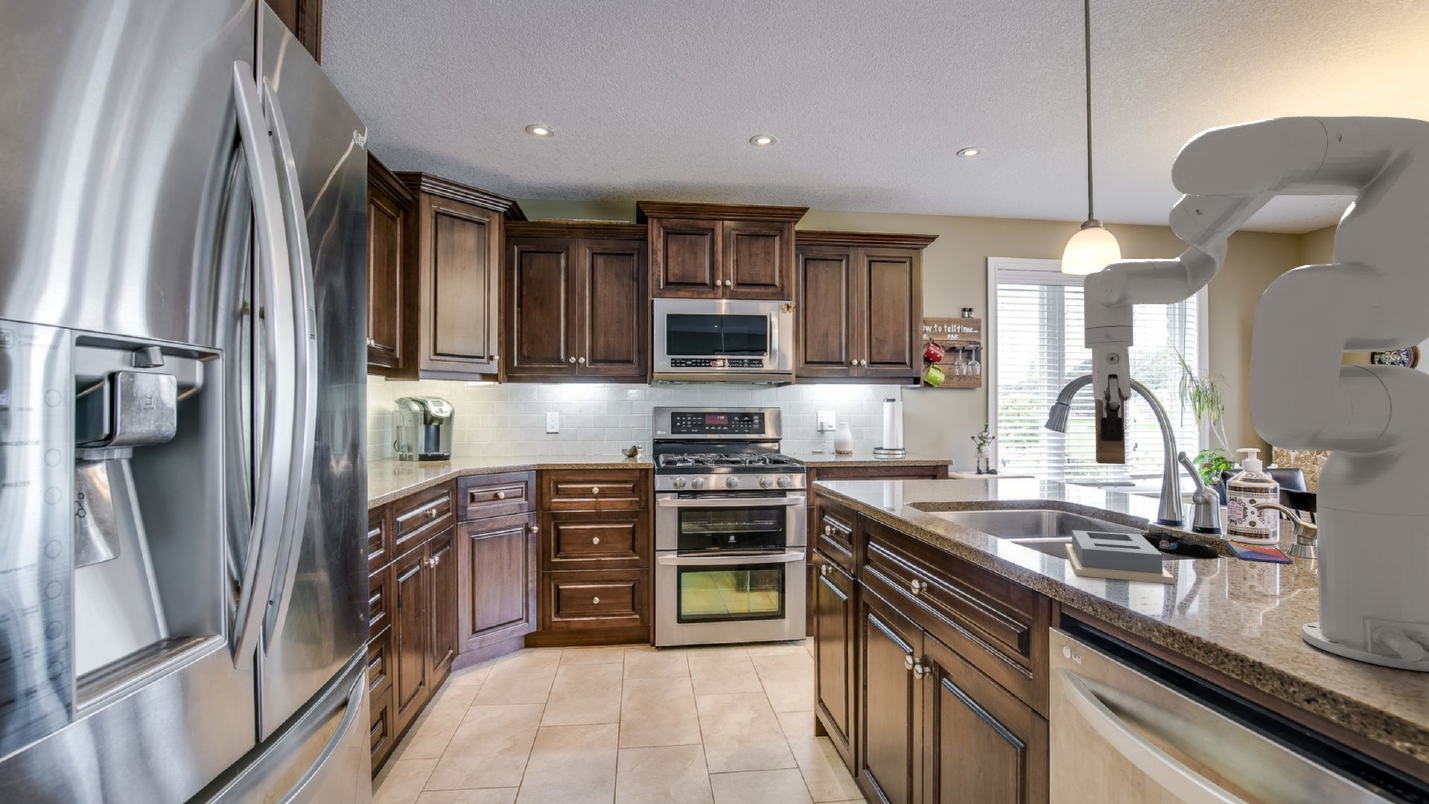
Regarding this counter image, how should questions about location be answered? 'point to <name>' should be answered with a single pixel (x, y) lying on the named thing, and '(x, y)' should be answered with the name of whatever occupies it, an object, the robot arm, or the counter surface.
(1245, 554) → the smartphone
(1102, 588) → the counter surface
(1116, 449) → the block
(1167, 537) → the toy car
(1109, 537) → the bore block
